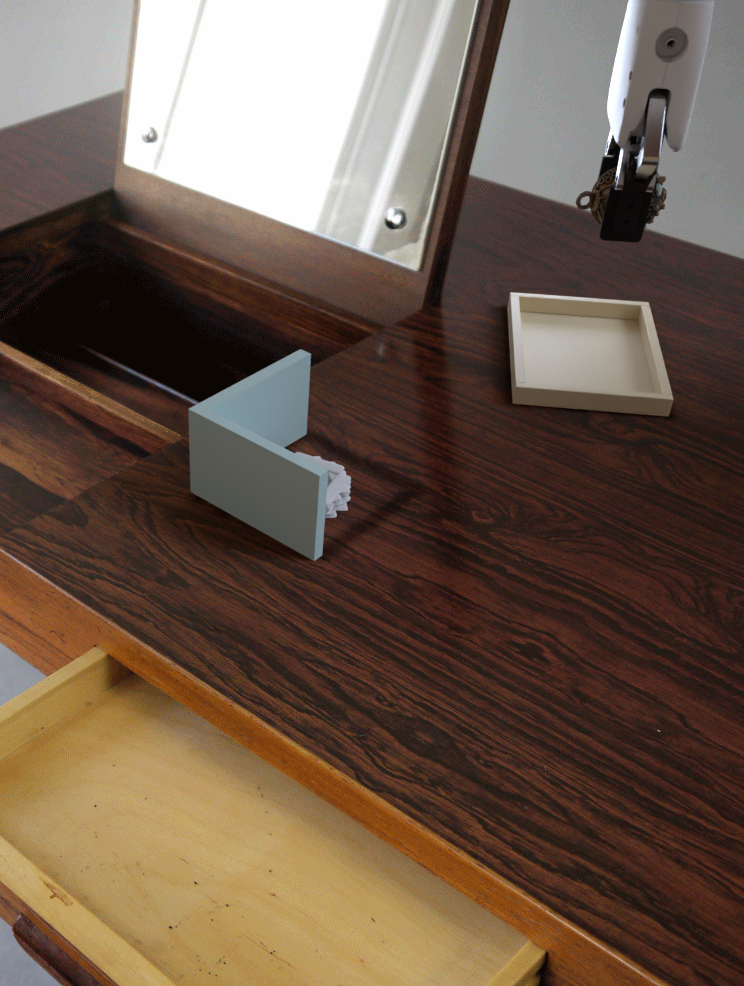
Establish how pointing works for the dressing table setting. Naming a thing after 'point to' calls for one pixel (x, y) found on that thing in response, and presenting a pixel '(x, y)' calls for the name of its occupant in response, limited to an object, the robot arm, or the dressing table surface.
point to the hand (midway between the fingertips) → (615, 221)
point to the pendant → (608, 179)
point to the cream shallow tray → (586, 354)
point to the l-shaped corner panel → (266, 457)
